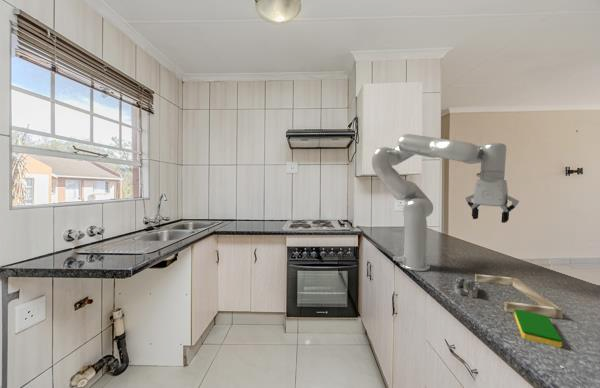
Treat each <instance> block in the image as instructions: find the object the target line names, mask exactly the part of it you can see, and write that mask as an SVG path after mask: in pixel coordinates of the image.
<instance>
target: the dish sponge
mask: <svg viewBox="0 0 600 388" xmlns="http://www.w3.org/2000/svg"><path fill="white" fill-rule="evenodd" d="M513 316H514V319H515V321H516V324H517V327H518V329H519V333H520V336H521V338H522V339H523V338H524V340H526V339H527V340H528V341H530V340H531V342H534V341H536V342H535V343H538V342H541V343H540V344H542V343H545V344H544V345H546V344H549V345H548V346H550V345H553V346H552V347H554V346H557V347H556V348H558V347H562V346H563V339H562V338H561V335H560V334H559V332H558V330H556V328H555V326H554V324H553V323H552V321H551V320H550V317H548V316H545V315H541V314H536V313H531V312H526V311H522V310H517V309H515V312H514V314H513ZM562 348H563V347H562Z"/></svg>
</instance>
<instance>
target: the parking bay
mask: <svg viewBox="0 0 600 388" xmlns="http://www.w3.org/2000/svg"><path fill="white" fill-rule="evenodd" d="M474 282H475V283H477V282H478V283H487V284H495V285H496V284H497V285H504V286H506V285H507V286H513V287H514V288H515V289H517V290H518V291H519V292H521V293H522V294H523V295H525V296H526V297H527V298H528V299H530V300H531V301H533V302H534V303H536V304H529V303H522V302H521V303H520V302H514V301H513V302H512V301H507V300H505V301H504V307H503V308H504V311H505V312H506V313H514V312H515V309H517V310H522V311H526V312H531V313H536V314H541V315H545V316H548V318H553V319H560V320H561V319H562V320H563V315H564V310H563V309H562V308H560V307H559V306H557V305H556V304H554V303H553V302H552V301H551V300H548V299H547V298H546V297H544V296H543V295H541V294H540V293H538V292H537V291H536V290H534V289H532V287H529V286H528V285H526V284H525V283H523V282H522V281H521V280H520V279H518V278H516V277H507V276H498V275H490V274H488V275H487V274H477V273H475V274H474Z"/></svg>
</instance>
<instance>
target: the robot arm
mask: <svg viewBox="0 0 600 388" xmlns="http://www.w3.org/2000/svg"><path fill="white" fill-rule="evenodd" d="M415 155H416V156H423V157H426V158H433V159H435V158H439V159H440V158H441V159H445V160H446V159H447V160H450V161H451V160H452V161H456V162H461V163H464V164H468V165H474V164H480V171H479V172H478V173H476V177H477V178H478V177H479V179H477V180H476V183H475V187H474V192H473V194H471V195H469V196H466V197H465V201H466V203H467V205H468V206H469V207H470V209H471V217H472V220H478V218H479V207H480V206H488V207H500V208H501V209H502V210H503V211H502V212H501V223H502V224H504V223H508V221H509V219H510V217H509V216H510V212H511V211H512V210H514V209H515V208H516V207H518V204H519V203H520V200H518V199H516V198H514V197H512V196H510V195H509V191H508V183H507V182H508V181H507V179H505V173H506V172H505V171H506V158H507V145H506V144H505V143H500V142H499V143H498V142H495V143H493V142H491V143H486V144H484V145H476V144H475V143H472V142H468V141H467V142H466V141H461V140H460V141H459V140H454V139H445V138H440V137H431V136H425V135H424V136H423V135H420V134H419V135H418V134H412V133H410V134H409V133H406V134H402V135H401V136H400V137H399V138H398V140H397V146H396V147H393V148H391V147H387V146H382V147H378V148H377V149H376V150H375V151H374V152H373V154H372V158H371V165H372V169H373V171H374V173H375V175H376V176H377V178H379V180H380V181H381V182H382V184H383V185H384V186H385V187H386V189H387V190H388V191H389V193H390V194H391V195H392V197H393V198H394V199H396V200H398V201H403V202H405V203H404V205H403V208H402V209H403V210H402V213H403V220H404V221H403V223H404V224H403V225H404V226H403V227H404V228H403V229H404V230H403V232H404V233H403V234H404V235H403V236H404V237H403V254H402V255H400V256H397V255H394V256H392V259H393V261H396V262H399V266H400V267H402V268H403V269H406V270H409V271H416V272H425V271H430V269H431V268H430V267H431V266H430V264H427V251H428V250H427V244H428V243H427V242H428V224H427V217H430V216H431V214H432V213H433V211H434V206H433V205H434V204H433V202H432V201H431V199H429V197H428V196H427V195H426V193H424V192H423V190H422V189H421V188H420V187H419V186H418V185H417V184H416V183H414V182H413V181H409V180H405V179H404V178H403V176H401V175H400V173H399V172H398V171H397V170H396V169H395V167H393V166H397V165H400V164H401V163H403V162H405V161H407V160H408V159H410V158H412V157H413V156H415ZM472 199H473V201H472ZM509 201H510V202H511V204H510V205H509V206H508V202H509Z"/></svg>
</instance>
